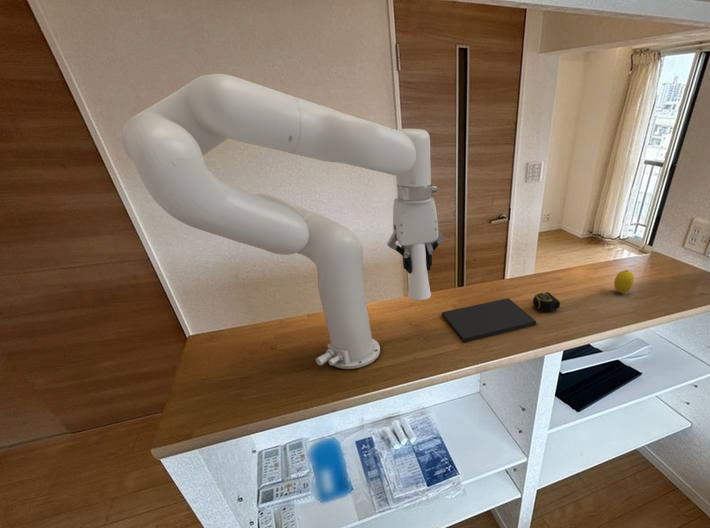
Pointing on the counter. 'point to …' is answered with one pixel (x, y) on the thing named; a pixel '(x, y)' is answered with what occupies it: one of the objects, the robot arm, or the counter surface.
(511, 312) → the mat
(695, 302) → the counter surface
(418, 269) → the cosmetic bottle
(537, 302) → the tape measure
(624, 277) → the lemon
